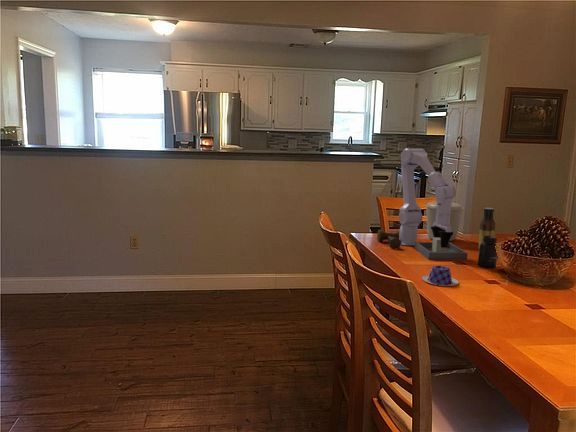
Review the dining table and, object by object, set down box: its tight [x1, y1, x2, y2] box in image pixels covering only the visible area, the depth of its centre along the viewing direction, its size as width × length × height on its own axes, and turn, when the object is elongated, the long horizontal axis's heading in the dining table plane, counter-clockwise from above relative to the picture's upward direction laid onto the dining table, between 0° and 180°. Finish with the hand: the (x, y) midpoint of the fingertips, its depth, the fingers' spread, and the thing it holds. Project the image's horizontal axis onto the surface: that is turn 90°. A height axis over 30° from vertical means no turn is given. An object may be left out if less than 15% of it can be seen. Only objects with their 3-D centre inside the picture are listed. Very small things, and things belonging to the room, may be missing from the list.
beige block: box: [432, 237, 447, 252], centre depth 194 cm, size 4×4×6 cm
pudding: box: [422, 265, 459, 287], centre depth 158 cm, size 12×12×5 cm
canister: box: [424, 201, 465, 242], centre depth 222 cm, size 18×18×21 cm
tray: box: [414, 241, 468, 261], centre depth 195 cm, size 18×16×3 cm
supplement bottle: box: [477, 236, 499, 270], centre depth 177 cm, size 7×7×12 cm
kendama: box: [376, 229, 402, 249], centre depth 211 cm, size 6×10×20 cm
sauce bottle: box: [477, 207, 496, 249], centre depth 198 cm, size 6×6×20 cm
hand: (440, 245), depth 194 cm, fingers open, 7 cm apart
